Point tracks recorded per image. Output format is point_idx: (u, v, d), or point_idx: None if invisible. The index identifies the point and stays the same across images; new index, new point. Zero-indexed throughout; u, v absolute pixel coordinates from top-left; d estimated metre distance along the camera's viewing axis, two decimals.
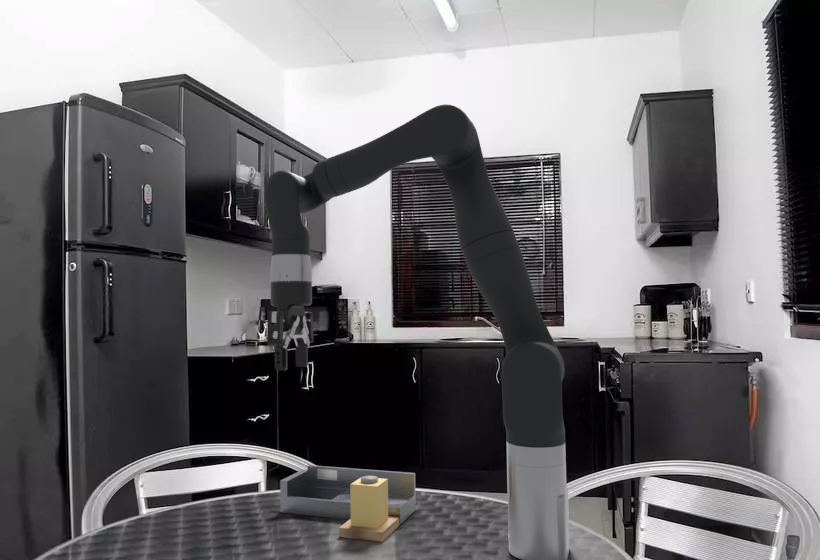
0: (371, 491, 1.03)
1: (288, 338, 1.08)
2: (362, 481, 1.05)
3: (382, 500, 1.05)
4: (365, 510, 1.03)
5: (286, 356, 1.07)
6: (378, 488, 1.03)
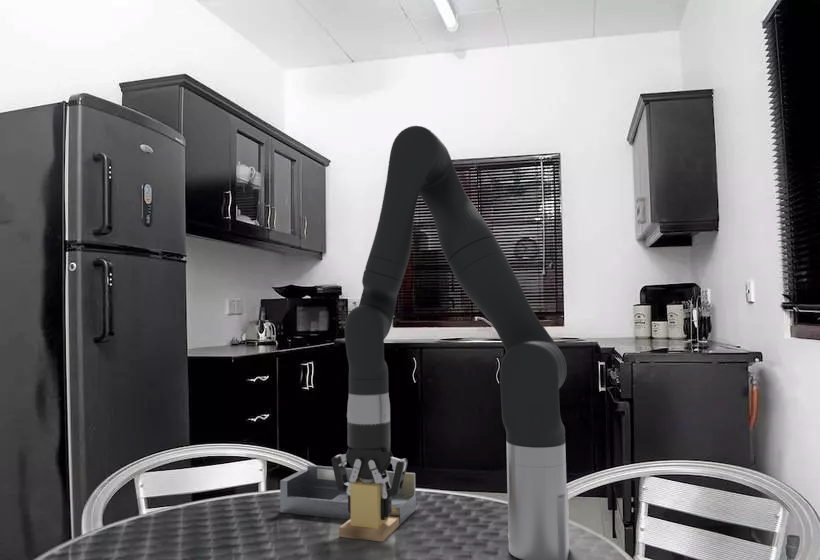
0: (371, 491, 1.03)
1: (385, 482, 1.06)
2: (362, 481, 1.05)
3: None
4: (365, 510, 1.03)
5: None
6: (378, 488, 1.03)
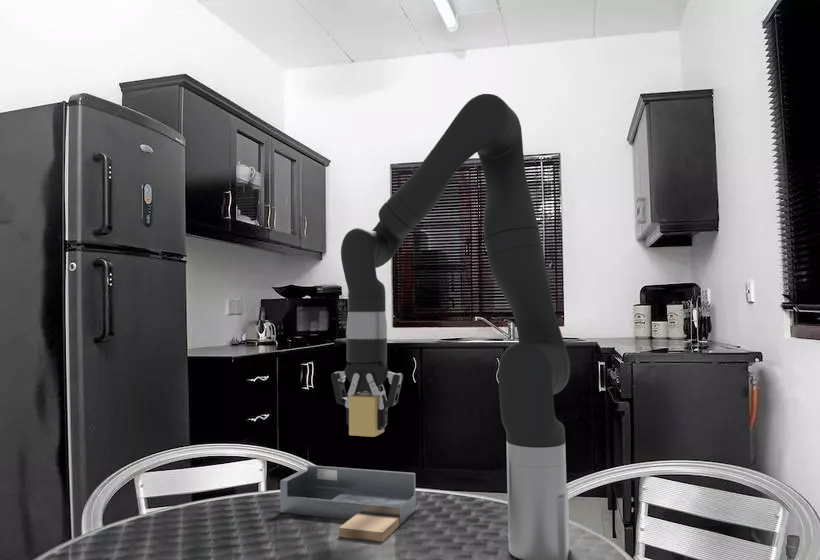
0: (368, 402, 1.09)
1: (382, 396, 1.13)
2: (360, 394, 1.11)
3: None
4: (363, 420, 1.10)
5: None
6: (375, 399, 1.10)
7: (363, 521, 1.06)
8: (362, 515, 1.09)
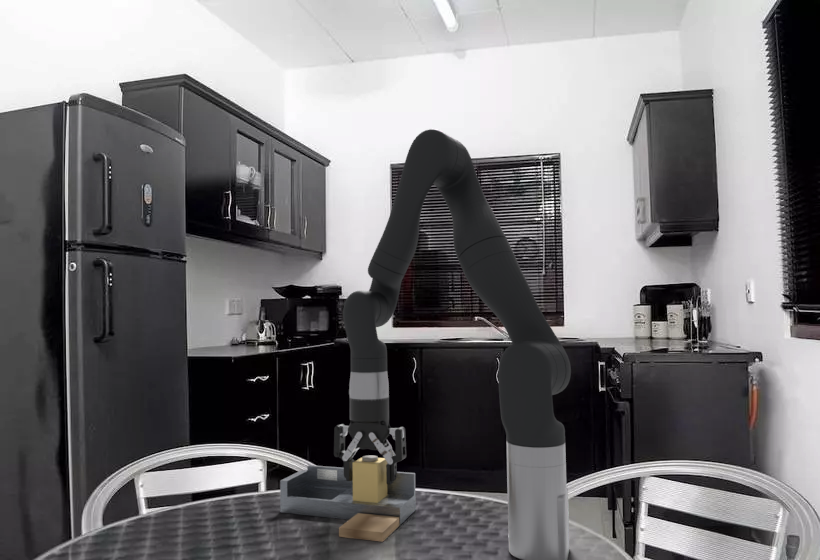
0: (371, 469, 1.13)
1: (389, 451, 1.15)
2: (363, 460, 1.15)
3: (381, 477, 1.14)
4: (366, 486, 1.13)
5: None
6: (378, 466, 1.13)
7: (363, 521, 1.06)
8: (362, 515, 1.09)
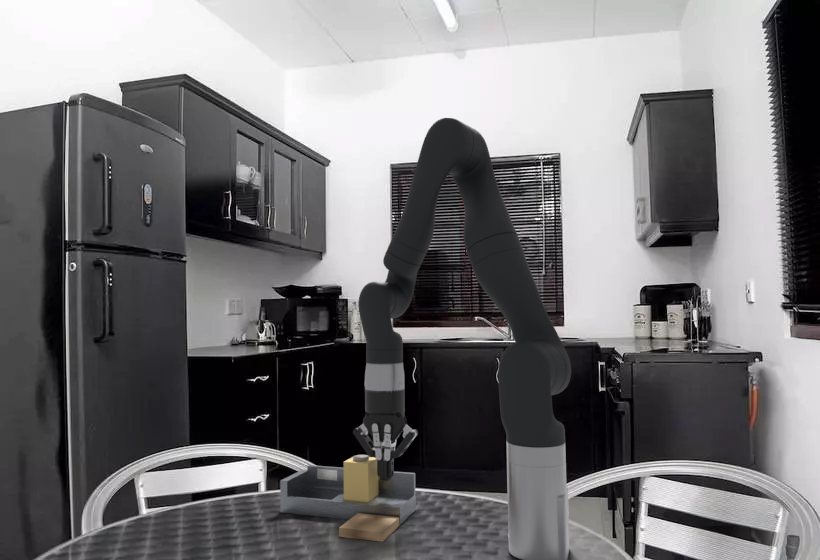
0: (362, 468, 1.13)
1: None
2: (354, 459, 1.15)
3: (372, 476, 1.15)
4: (357, 485, 1.13)
5: None
6: (368, 465, 1.13)
7: (363, 521, 1.06)
8: (362, 515, 1.09)
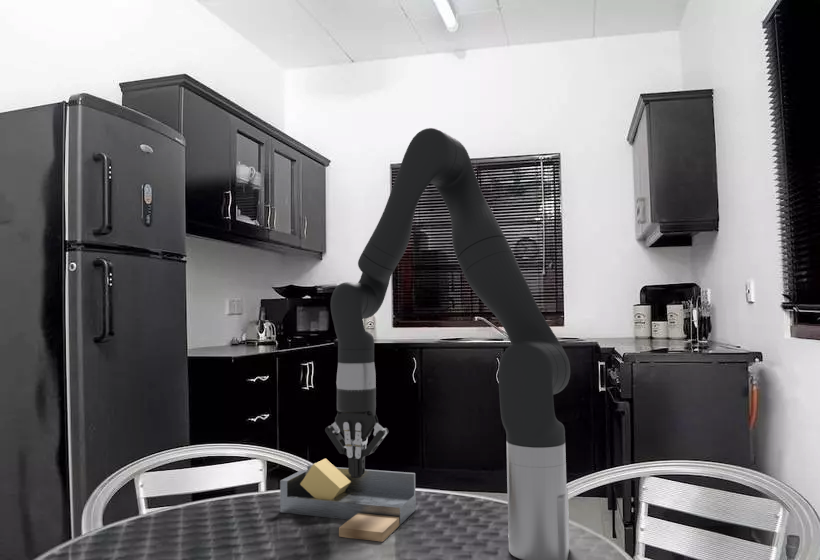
0: (314, 471, 1.16)
1: None
2: (306, 474, 1.18)
3: (329, 471, 1.18)
4: (323, 487, 1.16)
5: None
6: (316, 465, 1.17)
7: (363, 521, 1.06)
8: (362, 515, 1.09)
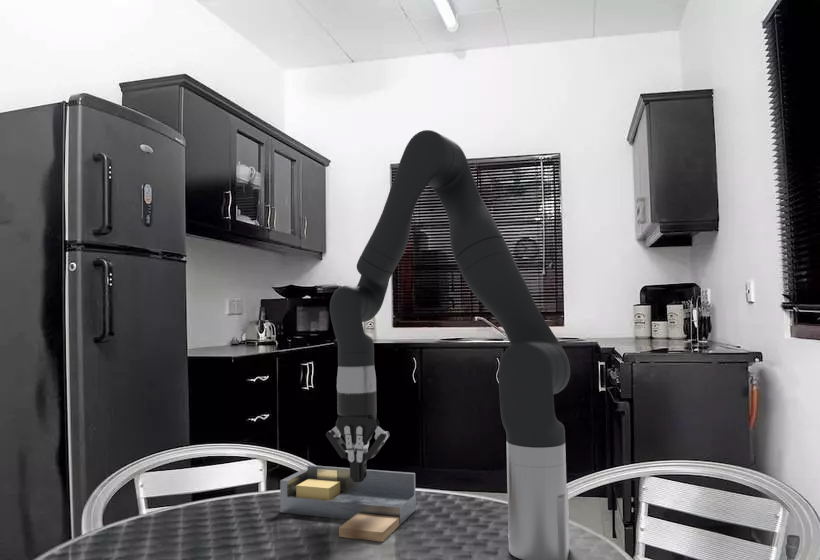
0: (300, 491, 1.17)
1: None
2: None
3: (314, 483, 1.19)
4: None
5: None
6: (299, 485, 1.18)
7: (363, 521, 1.06)
8: (362, 515, 1.09)
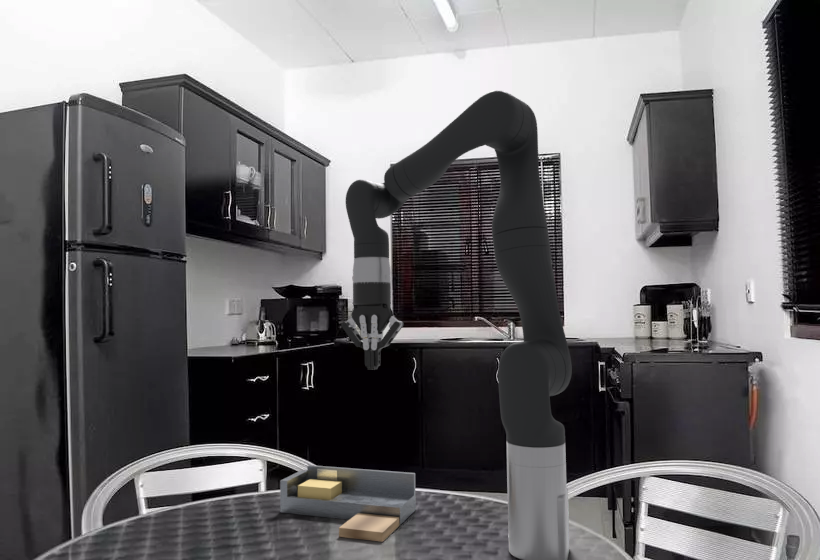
0: (302, 491, 1.17)
1: None
2: None
3: (316, 483, 1.18)
4: None
5: None
6: (300, 485, 1.18)
7: (363, 521, 1.06)
8: (362, 515, 1.09)
